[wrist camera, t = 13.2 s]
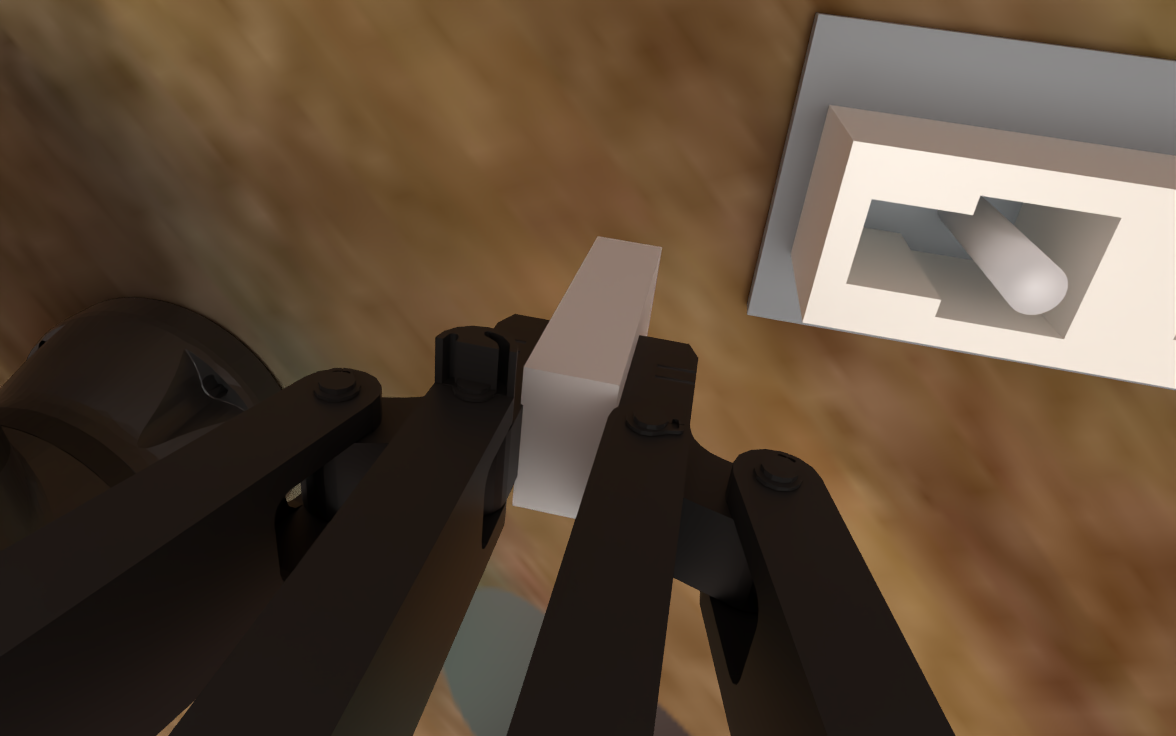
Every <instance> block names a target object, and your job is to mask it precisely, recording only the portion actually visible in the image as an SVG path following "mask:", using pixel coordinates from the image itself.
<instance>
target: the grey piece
mask: <svg viewBox="0 0 1176 736" xmlns="http://www.w3.org/2000/svg"><path fill="white" fill-rule="evenodd" d="M829 105H834V106H841V107H848V108H855V109H861V110H868V111H875V112H882V113H889V114H895V115H902V116H909V117H916V118H923V119H929V120H936V121H943V122H950V123H957V124H963V125H970V126H977V127H984V128H991V129H997V130H1004V131H1011V132H1018V133H1025V134H1031V135H1038V136H1045V137H1052V138H1059V139H1065V140H1072V141H1079V142H1086V143H1093V144H1099V145H1106V146H1113V147H1120V148H1127V149H1133V150H1140V151H1147V152H1154V153H1161V154H1167V155H1174V156H1176V60H1169V59H1162V58H1154V57H1147V56H1139V55H1132V54H1124V53H1117V52H1109V51H1102V50H1094V49H1087V48H1079V47H1072V46H1064V45H1057V44H1049V43H1042V42H1034V41H1027V40H1019V39H1012V38H1004V37H997V36H989V35H982V34H974V33H967V32H959V31H952V30H944V29H937V28H929V27H922V26H914V25H907V24H899V23H892V22H884V21H877V20H869V19H862V18H854V17H847V16H839V15H832V14H824V13H817V12H816V14H815V19H814V23H813V27H812V31H811V35H810V40H809V44H808V48H807V52H806V57H805V61H804V65H803V69H802V74H801V78H800V82H799V86H798V90H797V95H796V99H795V103H794V107H793V112H792V116H791V120H790V124H789V129H788V133H787V137H786V141H785V146H784V150H783V154H782V158H781V162H780V167H779V171H778V175H777V179H776V184H775V188H774V192H773V196H772V201H771V205H770V209H769V213H768V217H767V222H766V226H765V230H764V234H763V239H762V243H761V247H760V251H759V256H758V260H757V264H756V268H755V273H754V277H753V281H752V285H751V289H750V294H749V298H748V302H747V315H752V316H758V317H764V318H769V319H775V320H781V321H786V322H792V323H798V324H803V325H809V326H815V327H820V328H826V329H832V330H837V331H843V332H849V333H854V334H860V335H866V336H871V337H877V338H883V339H888V340H894V341H900V342H905V343H911V344H917V345H922V346H928V347H933V348H939V349H945V350H950V351H956V352H962V353H967V354H973V355H979V356H984V357H990V358H996V359H1001V360H1007V361H1013V362H1018V363H1024V364H1030V365H1035V366H1041V367H1047V368H1052V369H1058V370H1064V371H1069V372H1075V373H1081V374H1086V375H1092V376H1098V377H1103V378H1109V379H1115V380H1120V381H1126V382H1132V383H1137V384H1143V385H1149V386H1154V387H1160V388H1166V389H1171V390H1176V389H1174V388H1168V387H1163V386H1157V385H1152V384H1146V383H1140V382H1135V381H1129V380H1123V379H1118V378H1112V377H1107V376H1101V375H1095V374H1090V373H1084V372H1078V371H1073V370H1067V369H1061V368H1056V367H1050V366H1045V365H1039V364H1033V363H1028V362H1022V361H1016V360H1011V359H1005V358H1000V357H994V356H988V355H983V354H977V353H971V352H966V351H960V350H954V349H949V348H943V347H938V346H932V345H926V344H921V343H915V342H909V341H904V340H898V339H893V338H887V337H881V336H876V335H870V334H864V333H859V332H853V331H847V330H842V329H836V328H831V327H825V326H819V325H814V324H808V323H803V322H802V316H801V311H800V305H799V299H798V294H797V288H796V282H795V276H794V271H793V265H792V259H791V251H792V247H793V243H794V239H795V236H796V232H797V228H798V224H799V220H800V216H801V213H802V209H803V205H804V201H805V197H806V193H807V189H808V186H809V182H810V178H811V174H812V170H813V166H814V162H815V159H816V155H817V151H818V147H819V143H820V139H821V135H822V132H823V128H824V124H825V120H826V116H827V112H828V108H829ZM1022 204H1023V202H1018V201H1011V200H1005V199H999V198H992V197H986V196H980V198H979V201H978V203H977V206H976V209H975V211H974V214H973V215H969V214H963V213H956V212H950V211H944V210H937V209H931V208H925V207H919V206H912V205H906V204H900V203H893V202H887V201H881V200H875V199H872V200H871V203H870V207H869V210H868V213H867V217H866V220H865V223H864V226H863V228H870V229H876V230H882V231H888V232H894V233H900V234H901V235H902V237H903V238H904V240H905V241H906V243H907V245H908V246H909V248H910V250H913V251H919V252H925V253H931V254H937V255H943V256H949V257H955V258H961V259H967V260H973V261H974V262H975V263H976V264H977V265H978V266H979V268H980V269H981V270H982V271H983V273H984V274H985V275H986V276H987V278H988V279H989V280H990V281H991V283H992V284H993V285H994V286H995V288H996V289H997V290H998V291H999V292H1000V294H1001V295H1002V296H1003V297H1004V299H1005V300H1006V301H1007V302H1008V304H1009V305H1010V306H1011V307H1012V308H1013V309H1014V310H1016V311H1017V312H1019V313H1022V314H1026V315H1037V314H1042V313H1045V312H1047V311H1049V310H1051V309H1053V308H1054V307H1056V306H1057V305H1058V304H1059V303H1060V302H1061V301H1062V300H1063V298H1064V297H1065V295H1066V292H1067V289H1068V280H1067V276H1066V274H1065V273H1064V272H1063V270H1062V269H1060V268H1059V267H1058V266H1057V265H1056V264H1055V263H1054V262H1053V261H1052V260H1051V259H1050V258H1049V257H1048V256H1046V255H1045V254H1044V253H1043V252H1042V251H1041V250H1040V249H1039V248H1038V247H1037V246H1036V245H1035V244H1033V243H1032V242H1031V241H1030V240H1029V239H1028V238H1027V237H1026V236H1025V235H1024V234H1023V233H1022V232H1020V231H1019V230H1018V229H1017V228H1016V227H1015V226H1014V224H1015V222H1016V219H1017V217H1018V214H1019V212H1020V209H1021V207H1022Z"/></svg>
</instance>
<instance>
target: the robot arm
mask: <svg viewBox="0 0 1176 736" xmlns="http://www.w3.org/2000/svg"><path fill="white" fill-rule="evenodd" d="M661 251H662V247H658V246H652V245H646V244H640V243H635V242H629V241H623V240H617V239H611V238H605V237H599V236H598V237H597V238H596V240H595V242H594V244H593V245H592V247H591V249H590V251H589V252H588V254H587V256H586V258H585V259H584V261H583V263H582V265H581V267H580V268H579V270H578V272H577V274H576V275H575V277H574V279H573V281H572V282H571V284H570V286H569V288H568V290H567V291H566V293H565V295H564V297H563V298H562V300H561V302H560V304H559V305H558V307H557V309H556V311H555V312H554V314H553V316H552V318H551V320H545V319H540V318H534V317H529V316H523V315H518V314H514V315H512V316H510V317H508V318H506V319H504V320H502V321H500V322H498V323H497V325H496V326H495V328H494V329H493V328H489V327H480V326H465V327H456V328H453V329H449V330H446V331H444V332H442V333H441V334H439V335H438V336H437V337H436V338H435V383H434V384H433V386H432V387H431V388H430V390H429V391H428V392H427V394H426V395H425V396H423V397H412V398H383V397H382V388H381V384H380V383H379V381H378V380H377V378H375V377H373V376H372V375H370V374H368V373H366V372H362V371H358V370H353V369H348V368H344V369H342V368H333V369H330V370H324V371H318V372H316V373H313V374H311V375H308V376H306V377H303V378H302V379H300V380H298V381H297V382H295V383H293V384H291V385H290V386H288V387H286V388H284V389H283V390H281V389H280V387H279V385H278V384H277V382H276V381H275V380H274V378H273V377H272V375H271V374H270V373H269V371H268V370H267V369H266V368H265V366H264V365H263V364H262V363H261V362H260V361H259V360H258V359H257V358H256V356H255V355H254V354H253V353H252V352H251V351H250V350H248V349H247V348H246V347H245V346H244V345H243V344H242V343H241V342H239V341H238V340H237V339H236V338H235V337H233V336H232V335H231V334H229V333H228V332H227V331H225V330H224V329H222V328H221V327H219V326H218V325H216V324H215V323H213V322H211V321H210V320H208V319H206V318H204V317H202V316H200V315H198V314H196V313H194V312H192V311H190V310H187V309H185V308H182V307H179V306H177V305H173V304H170V303H167V302H163V301H158V300H153V299H146V298H118V299H112V300H108V301H104V302H101V303H98V304H95V305H93V306H91V307H89V308H87V309H85V310H84V311H82V312H80V313H78V314H76V315H74V316H72V317H70V318H68V319H66V320H64V321H62V322H61V323H59V324H58V325H56V326H55V327H53V328H52V329H51V330H49V331H48V332H47V333H46V334H45V335H44V336H43V337H42V338H41V339H40V340H39V342H38V343H37V344H36V346H35V347H34V348H33V349H32V351H31V352H30V354H29V356H28V358H27V360H26V362H25V363H24V364H23V365H22V366H21V367H20V368H19V369H18V370H17V371H16V372H15V373H14V374H13V375H12V376H11V378H10V379H9V380H8V381H7V382H6V383H5V384H4V385H3V386H2V387H1V388H0V736H156V735H157V734H158V733H159V732H161V731H162V730H163V729H164V728H165V727H166V726H167V725H168V724H169V723H170V722H172V721H173V720H174V719H175V718H176V717H177V716H178V715H179V714H180V713H181V712H182V711H184V710H185V709H186V708H187V707H188V706H189V705H190V704H191V703H192V702H193V701H194V702H193V704H192V705H191V706H190V708H189V709H188V710H187V712H186V713H185V714H184V716H183V717H182V718H181V720H180V721H179V722H178V724H177V725H176V726H175V728H174V729H173V730H172V732H171V733H170V734H169V736H413V734H414V731H415V729H416V727H417V724H418V722H419V720H420V717H421V715H422V713H423V711H424V708H425V706H426V704H427V701H428V699H429V697H430V694H431V692H432V690H433V688H434V685H435V683H436V681H437V678H438V676H439V674H440V671H441V669H442V667H443V665H444V662H445V660H446V658H447V655H448V653H449V651H450V648H451V646H452V644H453V641H454V639H455V637H456V635H457V632H458V630H459V628H460V625H461V623H462V621H463V618H464V616H465V614H466V612H467V609H468V607H469V605H470V602H471V600H472V598H473V595H474V593H475V591H476V589H477V586H478V584H479V582H480V579H481V577H482V575H483V572H484V570H485V568H486V566H487V563H488V561H489V559H490V556H491V554H492V552H493V549H494V547H495V545H496V543H497V540H498V538H499V536H500V533H501V531H502V529H503V526H504V523H505V514H506V501H507V498H508V496H509V493H510V491H511V489H512V487H513V485H514V492H513V506H518V507H523V508H527V509H532V510H537V511H541V512H546V513H551V514H555V515H560V516H565V517H569V518H574V519H575V522H574V525H573V528H572V532H571V535H570V538H569V541H568V544H567V547H566V550H565V554H564V557H563V560H562V563H561V566H560V569H559V572H558V576H557V579H556V582H555V585H554V588H553V591H552V594H551V598H550V601H549V604H548V607H547V610H546V613H545V616H544V620H543V623H542V626H541V629H540V632H539V636H538V638H537V642H536V645H535V648H534V651H533V654H532V657H531V660H530V664H529V667H528V670H527V673H526V676H525V680H524V682H523V686H522V689H521V692H520V695H519V698H518V701H517V705H516V708H515V711H514V714H513V717H512V720H511V723H510V727H509V730H508V733H507V736H653V734H654V726H655V718H656V709H657V702H658V694H659V686H660V678H661V670H662V662H663V654H664V646H665V638H666V630H667V623H668V615H669V607H670V599H671V591H672V583H673V578H675V579H677V580H679V581H681V582H683V583H685V584H687V585H689V586H691V587H693V588H695V589H697V590H699V591H700V607H701V611H702V615H703V620H704V624H705V628H706V632H707V637H708V641H709V645H710V649H711V654H712V658H713V662H714V666H715V671H716V675H717V679H718V683H719V688H720V692H721V696H722V700H723V705H724V709H725V713H726V717H727V722H728V726H729V730H730V734H731V736H955V734H954V732H953V730H952V728H951V726H950V724H949V722H948V720H947V719H946V717H945V715H944V713H943V711H942V709H941V707H940V705H939V703H938V701H937V699H936V697H935V695H934V694H933V692H932V690H931V688H930V686H929V684H928V682H927V680H926V678H925V676H924V674H923V672H922V670H921V669H920V667H919V665H918V663H917V661H916V659H915V657H914V655H913V653H912V651H911V649H910V647H909V646H908V644H907V642H906V640H905V638H904V636H903V634H902V632H901V630H900V628H899V626H898V624H897V622H896V621H895V619H894V617H893V615H892V613H891V611H890V609H889V607H888V605H887V603H886V601H885V599H884V597H883V596H882V594H881V592H880V590H879V588H878V586H877V584H876V582H875V580H874V578H873V576H872V574H871V572H870V571H869V569H868V567H867V565H866V563H865V561H864V559H863V557H862V555H861V553H860V551H859V549H858V547H857V546H856V544H855V542H854V540H853V538H852V536H851V534H850V532H849V530H848V528H847V526H846V524H845V522H844V521H843V519H842V517H841V515H840V513H839V511H838V509H837V507H836V505H835V503H834V501H833V499H832V498H831V496H830V494H829V492H828V490H827V488H826V486H825V484H824V482H823V480H822V478H821V477H820V476H819V475H818V473H817V472H816V471H815V470H814V469H813V467H811V466H810V465H808V464H807V463H805V462H804V461H802V460H801V459H799V458H797V457H795V456H793V455H789V454H788V453H784V452H781V451H774V450H768V449H760V450H750V451H747V452H745V453H742V454H740V455H739V456H738V457H737V458H736V460H735V461H734V462H733V463H731V462H729V461H727V460H724V459H722V458H720V457H718V456H716V455H714V454H712V453H710V452H709V451H707V450H706V449H704V448H703V447H702V446H700V444H699V443H698V442H697V441H696V440H695V439H694V437H693V435H692V433H691V429H690V419H691V411H692V403H693V395H694V388H695V380H696V372H697V364H698V357H697V355H696V354H695V352H694V351H693V349H692V348H691V346H690V345H689V344H685V343H680V342H674V341H669V340H664V339H658V338H653V337H647V334H648V328H649V322H650V316H651V310H652V304H653V298H654V292H655V286H656V280H657V274H658V268H659V263H660V257H661ZM300 482H301V492H302V493H301V494H300V495H299V496H297V497H296V498H295V499H293V500H291V501H289V502H287V500H286V498H287V496H288V495H289V494H290V492H291V490H292V489H293V488H294V487H295V486H296V485H298V484H299V483H300Z"/></svg>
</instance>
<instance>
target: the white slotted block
mask: <svg viewBox="0 0 1176 736" xmlns="http://www.w3.org/2000/svg"><path fill="white" fill-rule="evenodd" d="M980 196H986V197H992V198H999V199H1005V200H1011V201H1018V202H1023V204H1022V207H1021V209H1020V212H1019V214H1018V217H1017V219H1016V222H1015V224H1014V226H1015V227H1016V228H1017V229H1018V230H1019V231H1020V232H1022V233H1023V234H1024V235H1025V236H1026V237H1027V238H1028V239H1029V240H1030V241H1031V242H1032V243H1033V244H1035V245H1036V246H1037V247H1038V248H1039V249H1040V250H1041V251H1042V252H1043V253H1044V254H1045V255H1046V256H1048V257H1049V258H1050V259H1051V260H1052V261H1053V262H1054V263H1055V264H1056V265H1057V266H1058V267H1059V268H1060V269H1062V270H1063V272H1064V273H1065V274H1066V276H1067V280H1068V289H1067V292H1066V295H1065V297H1064V298H1063V300H1062V301H1061V302H1060V303H1059V304H1058V305H1057V306H1056V307H1054V308H1053V309H1051V310H1049V311H1047V312H1045V313H1042V314H1037V315H1026V314H1022V313H1019V312H1017V311H1016V310H1014V309H1013V308H1012V307H1011V306H1010V305H1009V304H1008V302H1007V301H1006V300H1005V299H1004V297H1003V296H1002V295H1001V294H1000V292H999V291H998V290H997V289H996V288H995V286H994V285H993V284H992V283H991V281H990V280H989V279H988V278H987V276H986V275H985V274H984V273H983V271H982V270H981V269H980V268H979V266H978V265H977V264H976V263H975V262H974V261H973V260H967V259H961V258H955V257H949V256H943V255H937V254H931V253H925V252H919V251H913V250H910V248H909V246H908V245H907V243H906V241H905V240H904V238H903V237H902V235H901V234H900V233H894V232H888V231H882V230H876V229H870V228H863V226H864V223H865V220H866V217H867V213H868V210H869V207H870V203H871V200H872V199H875V200H881V201H887V202H893V203H900V204H906V205H912V206H919V207H925V208H931V209H937V210H944V211H950V212H956V213H963V214H969V215H973V214H974V211H975V209H976V206H977V203H978V201H979V198H980ZM791 259H792V265H793V271H794V276H795V282H796V288H797V294H798V299H799V305H800V311H801V316H802V322H803V323H808V324H814V325H819V326H825V327H831V328H836V329H842V330H847V331H853V332H859V333H864V334H870V335H876V336H881V337H887V338H893V339H898V340H904V341H909V342H915V343H921V344H926V345H932V346H938V347H943V348H949V349H954V350H960V351H966V352H971V353H977V354H983V355H988V356H994V357H1000V358H1005V359H1011V360H1016V361H1022V362H1028V363H1033V364H1039V365H1045V366H1050V367H1056V368H1061V369H1067V370H1073V371H1078V372H1084V373H1090V374H1095V375H1101V376H1107V377H1112V378H1118V379H1123V380H1129V381H1135V382H1140V383H1146V384H1152V385H1157V386H1163V387H1168V388H1174V389H1176V156H1174V155H1167V154H1161V153H1154V152H1147V151H1140V150H1133V149H1127V148H1120V147H1113V146H1106V145H1099V144H1093V143H1086V142H1079V141H1072V140H1065V139H1059V138H1052V137H1045V136H1038V135H1031V134H1025V133H1018V132H1011V131H1004V130H997V129H991V128H984V127H977V126H970V125H963V124H957V123H950V122H943V121H936V120H929V119H923V118H916V117H909V116H902V115H895V114H889V113H882V112H875V111H868V110H861V109H855V108H848V107H841V106H834V105H829V108H828V112H827V116H826V120H825V124H824V128H823V132H822V135H821V139H820V143H819V147H818V151H817V155H816V159H815V162H814V166H813V170H812V174H811V178H810V182H809V186H808V189H807V193H806V197H805V201H804V205H803V209H802V213H801V216H800V220H799V224H798V228H797V232H796V236H795V239H794V243H793V247H792V251H791Z"/></svg>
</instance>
